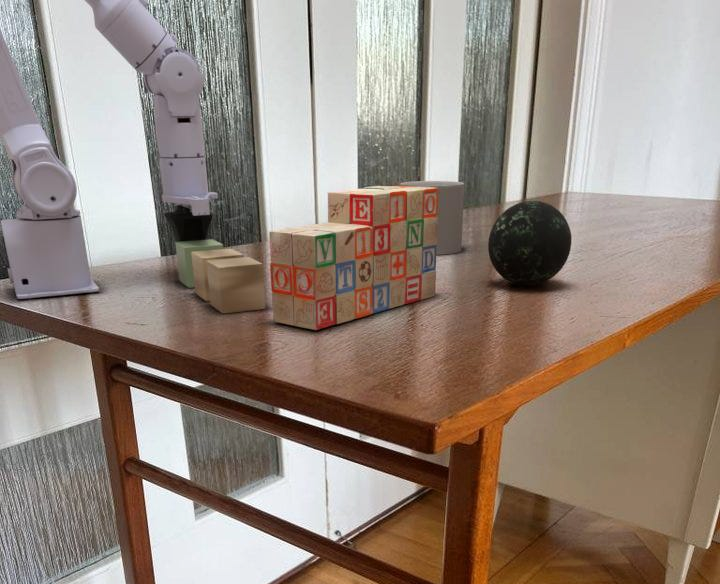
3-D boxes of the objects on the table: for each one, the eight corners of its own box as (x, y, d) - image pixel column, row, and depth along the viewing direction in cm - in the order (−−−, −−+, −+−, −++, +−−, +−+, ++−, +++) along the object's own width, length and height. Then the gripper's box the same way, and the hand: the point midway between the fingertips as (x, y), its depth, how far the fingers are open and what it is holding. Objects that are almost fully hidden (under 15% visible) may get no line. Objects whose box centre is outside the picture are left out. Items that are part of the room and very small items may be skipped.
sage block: (188, 288, 96) (184, 247, 94) (179, 281, 100) (175, 241, 98) (226, 284, 98) (223, 244, 95) (216, 277, 102) (212, 239, 100)
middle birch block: (206, 301, 89) (201, 257, 86) (195, 293, 93) (191, 251, 90) (246, 297, 90) (243, 254, 88) (234, 289, 95) (231, 248, 92)
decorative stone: (518, 296, 89) (525, 207, 85) (470, 282, 97) (474, 199, 93) (583, 288, 93) (594, 202, 89) (532, 274, 101) (539, 195, 97)
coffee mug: (442, 257, 115) (445, 186, 110) (387, 251, 120) (387, 184, 115) (481, 245, 125) (484, 180, 120) (428, 241, 130) (430, 178, 125)
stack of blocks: (317, 332, 75) (312, 201, 70) (272, 323, 79) (264, 198, 73) (436, 295, 90) (439, 185, 85) (394, 289, 94) (395, 183, 88)
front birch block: (222, 313, 83) (218, 267, 81) (210, 304, 87) (206, 260, 85) (265, 309, 85) (262, 263, 83) (251, 300, 89) (248, 256, 87)
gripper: (229, 158, 91) (238, 272, 97) (198, 154, 103) (208, 256, 109) (171, 160, 88) (184, 278, 94) (146, 155, 100) (159, 260, 106)
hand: (193, 266), depth 101 cm, fingers closed
